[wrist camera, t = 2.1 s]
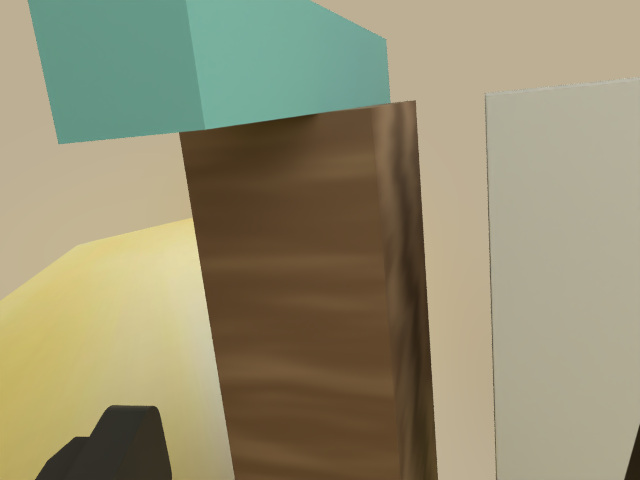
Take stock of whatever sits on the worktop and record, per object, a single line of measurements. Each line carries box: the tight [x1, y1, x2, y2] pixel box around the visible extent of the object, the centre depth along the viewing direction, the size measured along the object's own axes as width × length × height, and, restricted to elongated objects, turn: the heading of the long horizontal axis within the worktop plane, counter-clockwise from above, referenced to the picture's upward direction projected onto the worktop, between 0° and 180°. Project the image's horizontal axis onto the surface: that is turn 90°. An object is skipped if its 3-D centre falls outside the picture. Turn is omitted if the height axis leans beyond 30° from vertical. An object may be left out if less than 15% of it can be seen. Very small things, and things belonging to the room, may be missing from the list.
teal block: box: [28, 0, 390, 144], centre depth 24 cm, size 26×4×4 cm, turn 164°
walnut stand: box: [179, 101, 438, 480], centre depth 31 cm, size 14×8×32 cm, turn 164°
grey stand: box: [485, 77, 640, 480], centre depth 28 cm, size 14×8×32 cm, turn 164°
